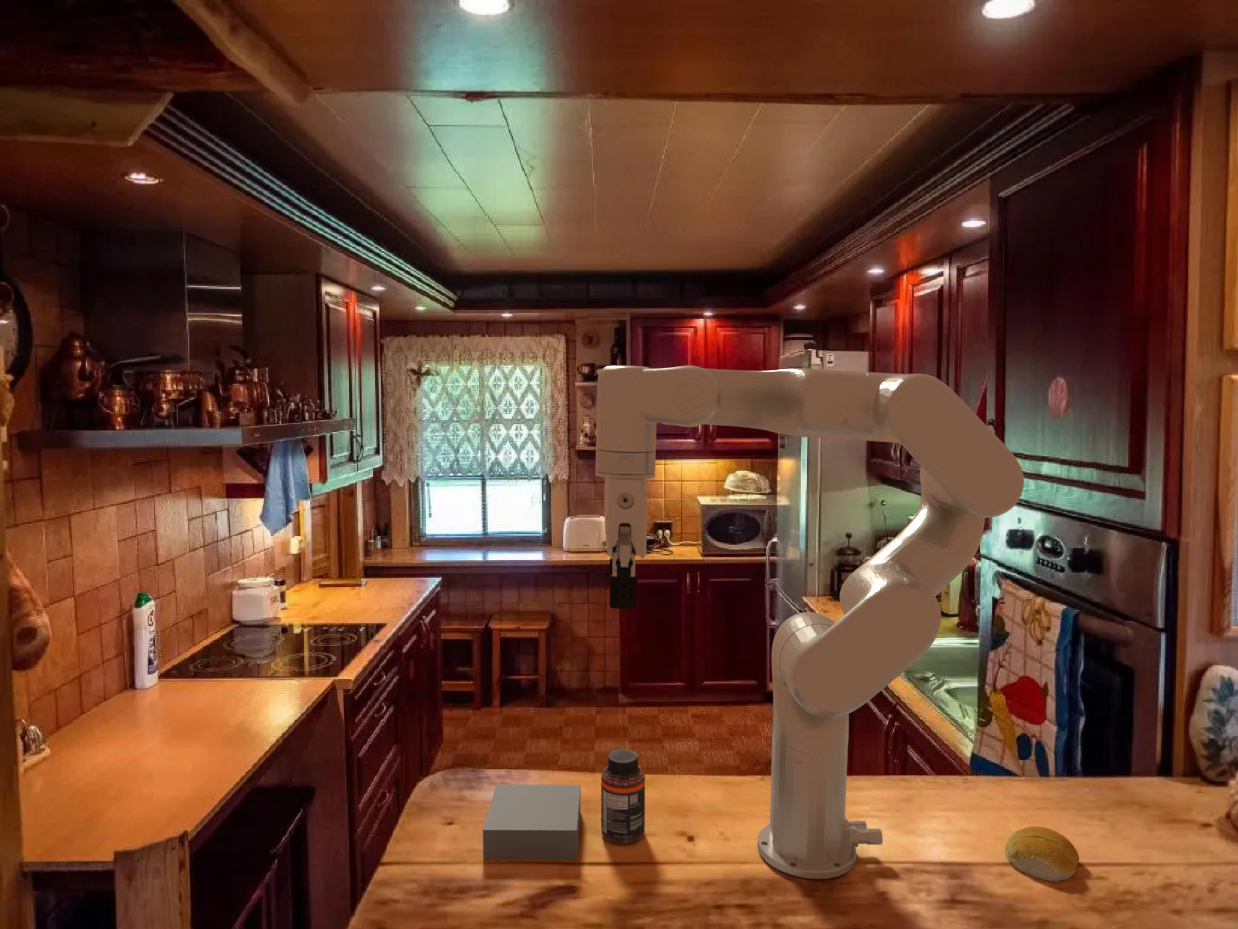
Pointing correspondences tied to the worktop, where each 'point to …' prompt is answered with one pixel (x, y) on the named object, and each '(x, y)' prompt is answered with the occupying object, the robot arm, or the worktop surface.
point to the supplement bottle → (623, 798)
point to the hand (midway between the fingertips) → (621, 597)
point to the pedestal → (532, 823)
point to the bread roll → (1042, 853)
